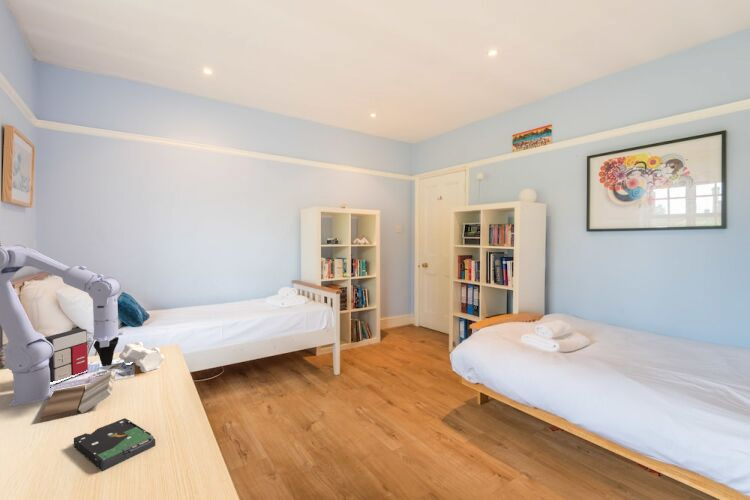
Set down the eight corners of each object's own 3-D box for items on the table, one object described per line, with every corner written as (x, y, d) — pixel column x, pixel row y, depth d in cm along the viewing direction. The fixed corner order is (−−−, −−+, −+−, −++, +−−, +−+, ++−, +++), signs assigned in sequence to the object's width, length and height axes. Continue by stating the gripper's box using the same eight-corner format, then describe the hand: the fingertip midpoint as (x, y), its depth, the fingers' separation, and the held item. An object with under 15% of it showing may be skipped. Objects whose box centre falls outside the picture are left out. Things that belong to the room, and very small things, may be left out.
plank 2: (86, 401, 97) (82, 397, 97) (113, 383, 100) (109, 380, 100) (82, 413, 90) (78, 409, 90) (111, 394, 94) (107, 390, 93)
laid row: (54, 397, 100) (54, 391, 100) (85, 391, 104) (85, 385, 104) (40, 424, 86) (40, 416, 86) (76, 416, 90) (76, 409, 90)
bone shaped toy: (164, 369, 122) (166, 346, 123) (137, 376, 115) (140, 351, 115) (143, 361, 130) (145, 339, 130) (116, 366, 123) (118, 343, 123)
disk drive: (72, 450, 77) (102, 474, 69) (71, 438, 77) (101, 460, 69) (125, 428, 86) (157, 447, 78) (124, 417, 86) (156, 434, 78)
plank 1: (90, 389, 104) (86, 385, 104) (114, 373, 107) (111, 370, 107) (86, 400, 98) (82, 396, 97) (113, 383, 101) (109, 379, 100)
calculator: (54, 387, 107) (52, 338, 106) (43, 385, 107) (41, 337, 107) (90, 373, 117) (88, 329, 117) (79, 371, 118) (78, 328, 117)
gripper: (121, 322, 99) (122, 369, 99) (123, 312, 111) (124, 354, 111) (89, 326, 95) (90, 375, 95) (95, 315, 107) (96, 359, 107)
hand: (107, 364), depth 103 cm, fingers closed
